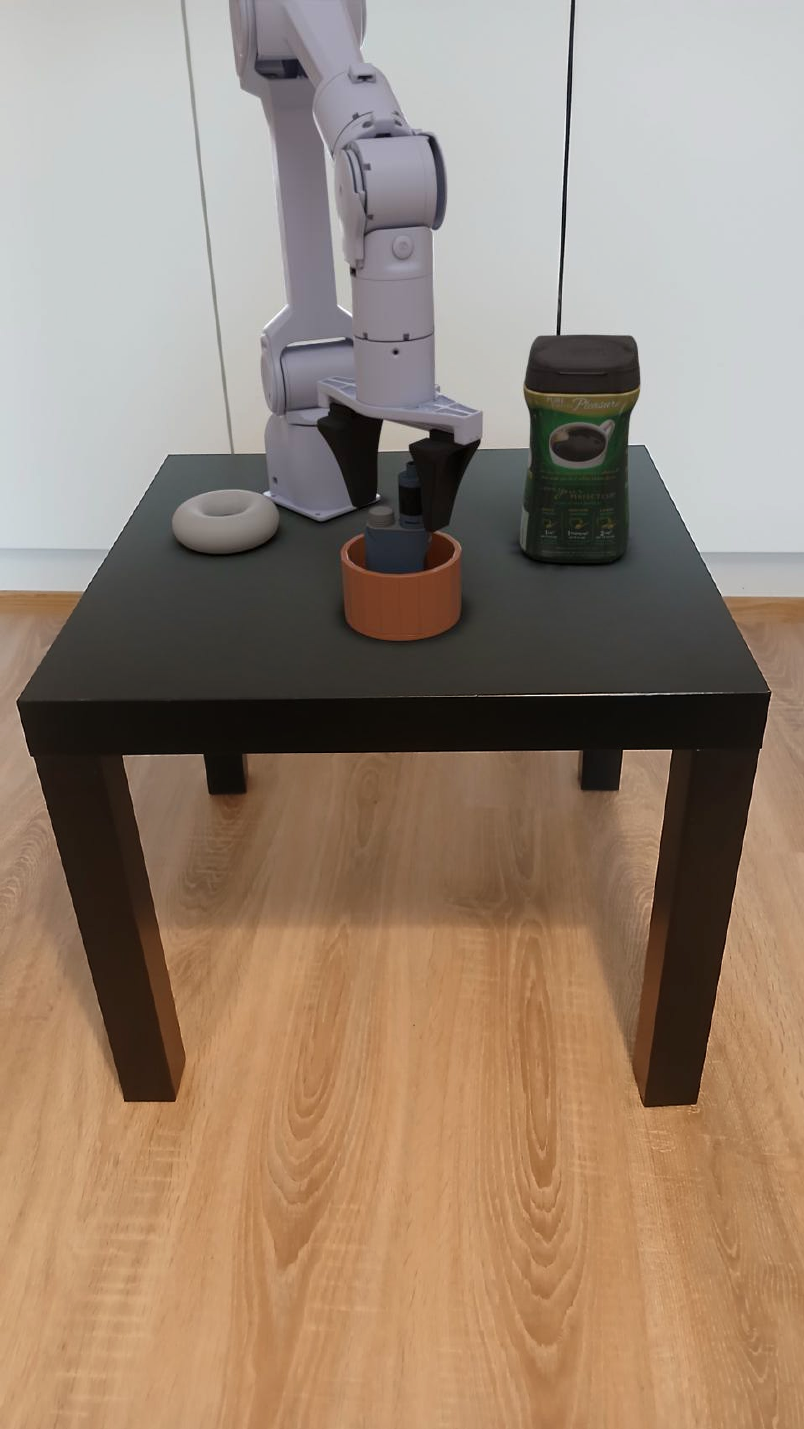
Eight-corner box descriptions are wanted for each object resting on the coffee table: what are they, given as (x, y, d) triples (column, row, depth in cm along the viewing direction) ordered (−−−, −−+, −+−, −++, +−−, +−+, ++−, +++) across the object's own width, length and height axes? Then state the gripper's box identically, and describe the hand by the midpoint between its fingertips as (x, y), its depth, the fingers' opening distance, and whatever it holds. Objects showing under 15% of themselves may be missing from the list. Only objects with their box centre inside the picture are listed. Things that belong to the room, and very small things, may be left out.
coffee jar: (625, 532, 98) (645, 324, 87) (628, 569, 91) (649, 348, 81) (520, 529, 99) (527, 323, 89) (515, 565, 92) (522, 347, 82)
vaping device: (429, 614, 84) (427, 469, 77) (364, 611, 85) (357, 467, 78) (434, 600, 86) (432, 457, 80) (371, 596, 87) (364, 455, 80)
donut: (158, 558, 96) (262, 562, 94) (151, 522, 94) (258, 526, 92) (197, 515, 104) (294, 519, 102) (192, 482, 102) (290, 484, 101)
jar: (321, 613, 86) (316, 551, 83) (405, 576, 91) (403, 517, 88) (400, 653, 80) (397, 588, 77) (485, 611, 85) (486, 549, 82)
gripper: (511, 335, 72) (506, 522, 79) (359, 307, 80) (367, 479, 88) (444, 357, 67) (445, 553, 75) (291, 326, 76) (306, 504, 83)
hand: (399, 515), depth 81 cm, fingers open, 7 cm apart
